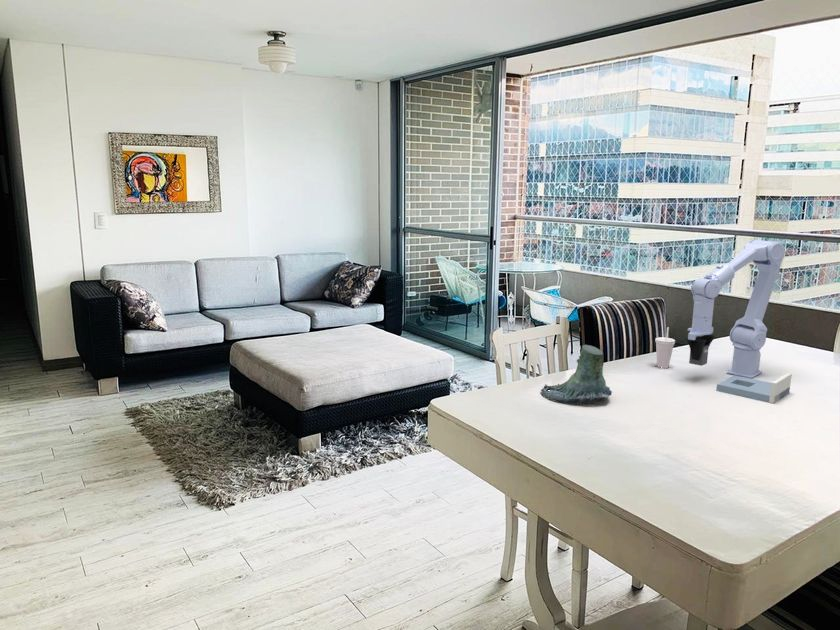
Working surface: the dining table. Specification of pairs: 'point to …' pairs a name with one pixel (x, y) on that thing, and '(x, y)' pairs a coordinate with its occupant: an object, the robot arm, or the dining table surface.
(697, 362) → the plug
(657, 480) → the dining table surface
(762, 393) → the outlet plate
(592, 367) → the tree stump
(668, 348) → the smoothie
